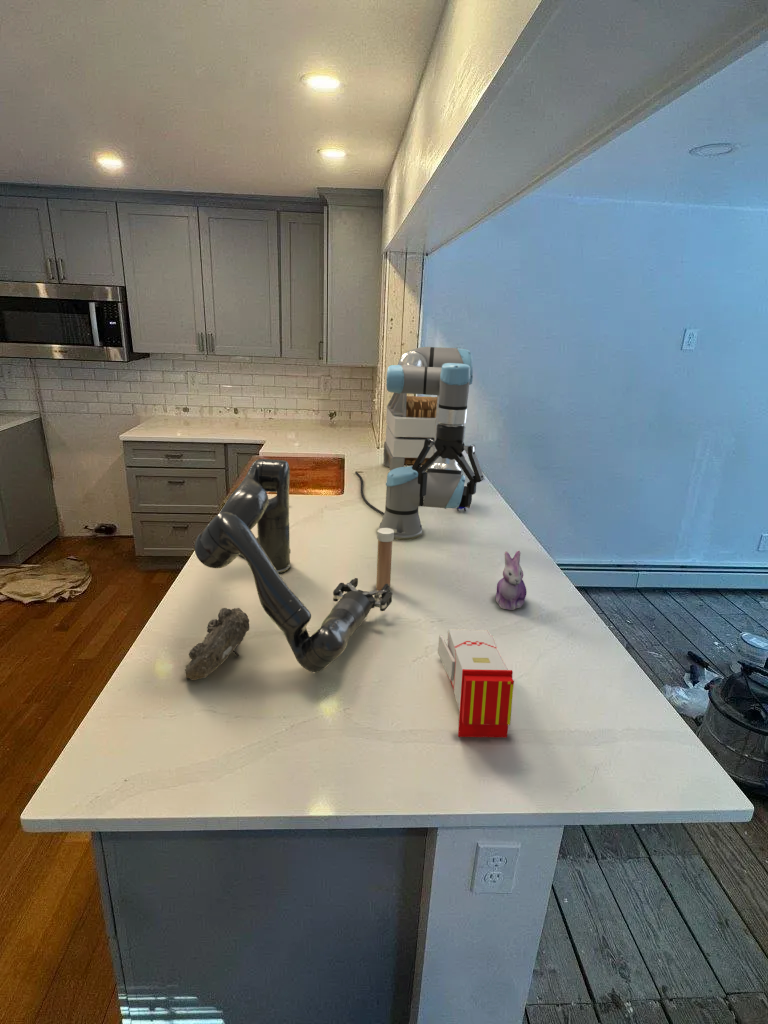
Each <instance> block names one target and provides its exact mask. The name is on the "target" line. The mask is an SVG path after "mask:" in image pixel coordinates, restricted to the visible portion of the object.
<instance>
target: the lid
mask: <svg viewBox="0 0 768 1024" xmlns="http://www.w3.org/2000/svg"><path fill="white" fill-rule="evenodd" d="M376 539H377V541H378V540H379V541H382V542H391V541H394V540H395V539H394V530H393V529H390V528H380V529H379V528H378V529H377V531H376Z"/></svg>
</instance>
